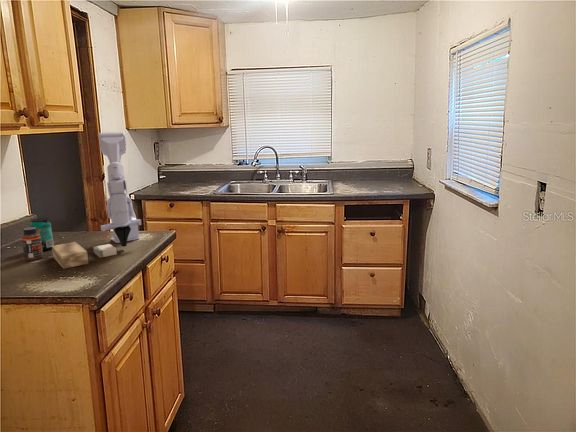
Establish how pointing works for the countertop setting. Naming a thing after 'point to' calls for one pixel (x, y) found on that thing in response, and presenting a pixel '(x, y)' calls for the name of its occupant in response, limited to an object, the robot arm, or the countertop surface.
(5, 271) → the countertop surface
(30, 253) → the supplement bottle
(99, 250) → the white block
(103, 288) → the countertop surface
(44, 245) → the beverage can
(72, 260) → the tan rectangular block
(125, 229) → the robot arm
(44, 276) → the countertop surface
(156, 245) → the countertop surface
